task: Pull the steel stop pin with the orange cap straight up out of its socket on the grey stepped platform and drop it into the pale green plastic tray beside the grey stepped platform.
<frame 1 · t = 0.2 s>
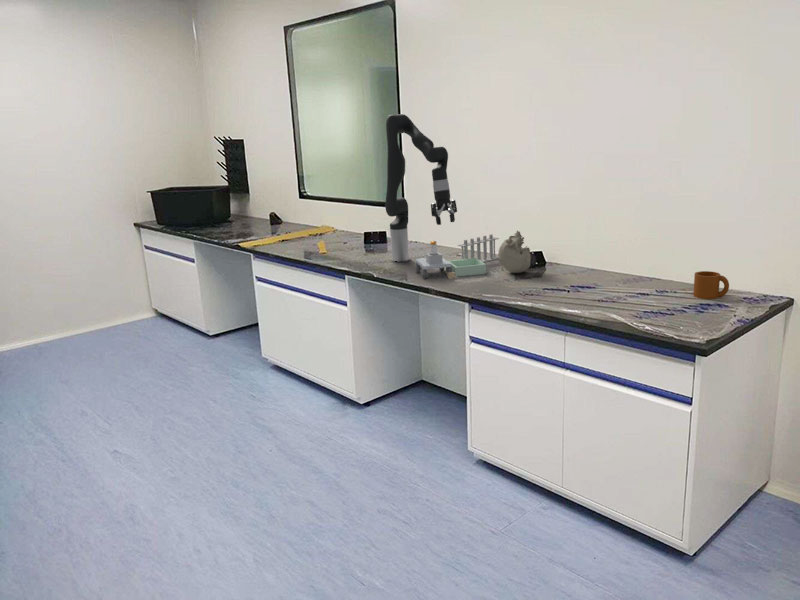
hand: (445, 223, 300), 23 cm above the worktop, tool pointing down, fingers open, 8 cm apart
grey stepped platform: (433, 274, 300), on the worktop
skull: (514, 273, 294), on the worktop
stop pin: (434, 262, 296), point 6 cm above the worktop, touching grey stepped platform
tray: (466, 271, 302), on the worktop
test tube rack: (479, 263, 319), on the worktop
mug: (709, 297, 241), on the worktop
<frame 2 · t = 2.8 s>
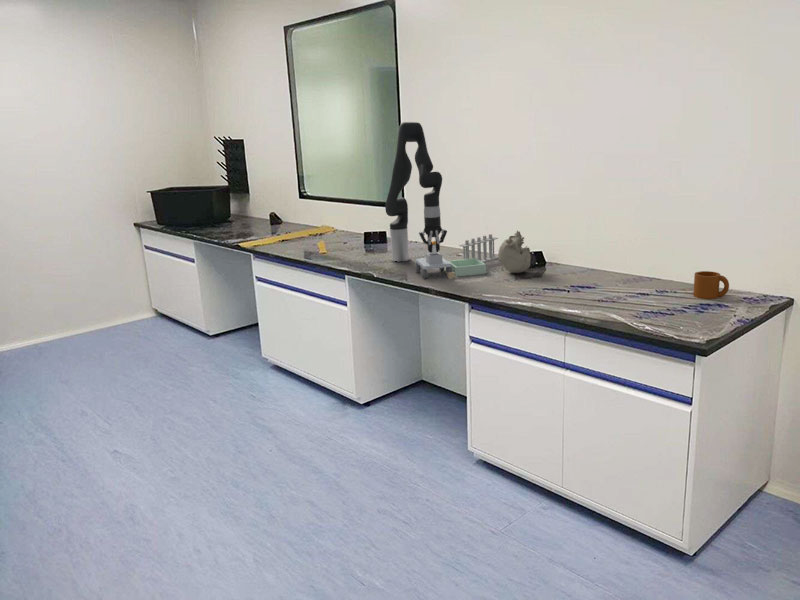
hand: (433, 251, 294), 12 cm above the worktop, tool pointing down, fingers closed on stop pin, 2 cm apart
stop pin: (434, 262, 296), point 7 cm above the worktop, touching gripper, grey stepped platform
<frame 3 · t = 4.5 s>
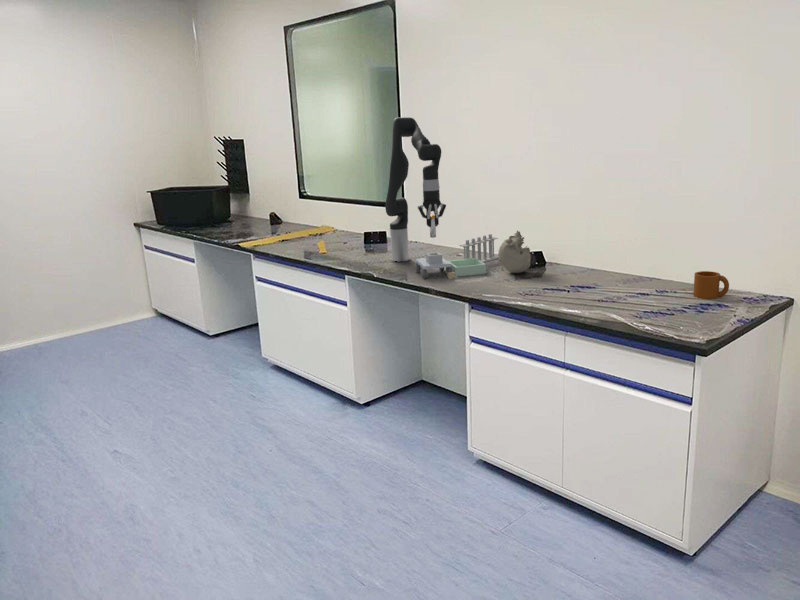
hand: (432, 226, 291), 24 cm above the worktop, tool pointing down, fingers closed on stop pin, 2 cm apart
stop pin: (433, 237, 292), point 19 cm above the worktop, touching gripper
everything else where it was.
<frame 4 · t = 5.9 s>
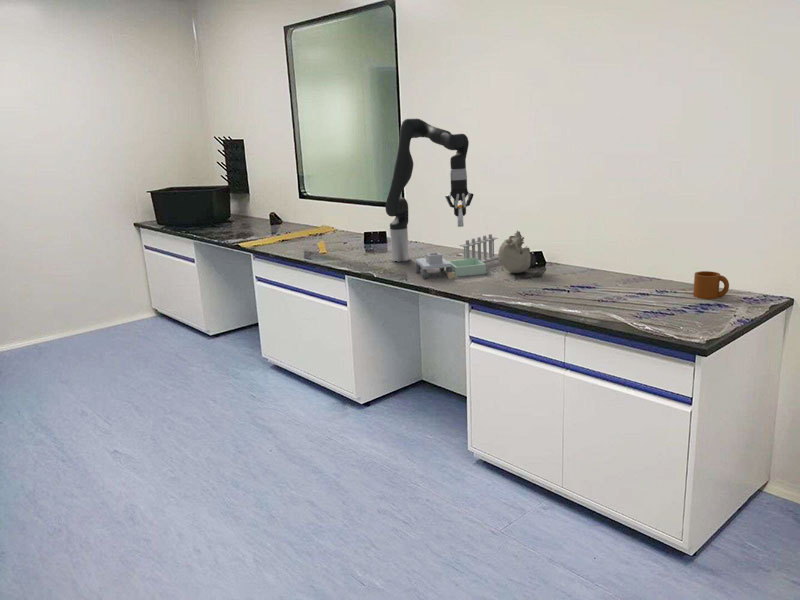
hand: (460, 215, 293), 28 cm above the worktop, tool pointing down, fingers closed on stop pin, 2 cm apart
stop pin: (460, 226, 294), point 22 cm above the worktop, touching gripper
everything else where it was.
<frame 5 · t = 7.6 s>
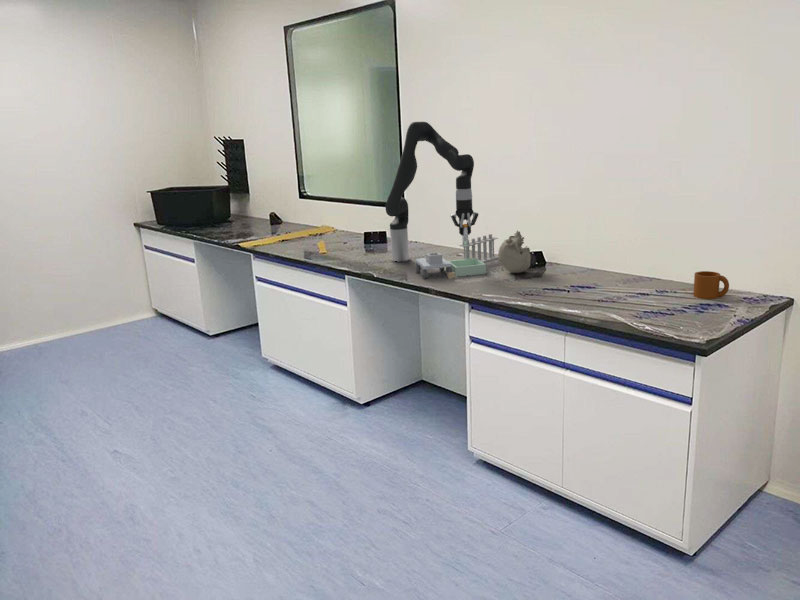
hand: (465, 234, 297), 18 cm above the worktop, tool pointing down, fingers closed on stop pin, 2 cm apart
stop pin: (465, 245, 298), point 13 cm above the worktop, touching gripper
everything else where it was.
when the fingers open (10 cm above the worktop, at t = 9.1 s): stop pin drops 4 cm, resting on tray.
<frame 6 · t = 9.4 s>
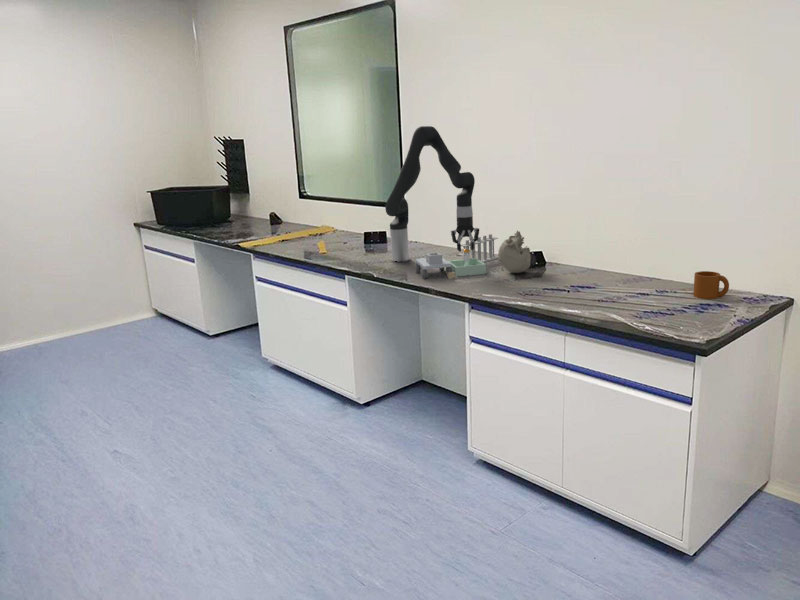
hand: (465, 250, 299), 10 cm above the worktop, tool pointing down, fingers open, 5 cm apart
stop pin: (466, 269, 301), point 1 cm above the worktop, touching tray
everything else where it was.
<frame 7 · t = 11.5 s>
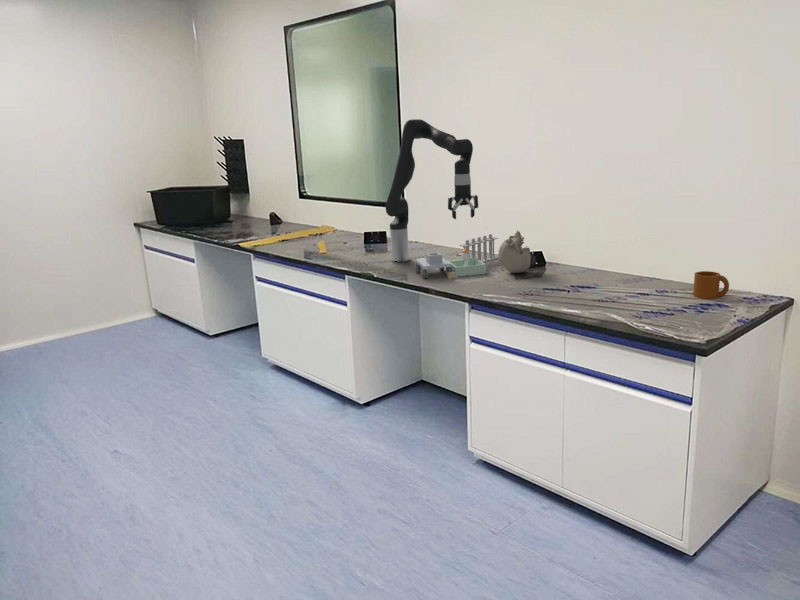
hand: (463, 218, 295), 26 cm above the worktop, tool pointing down, fingers open, 8 cm apart
nothing on the worktop moved.
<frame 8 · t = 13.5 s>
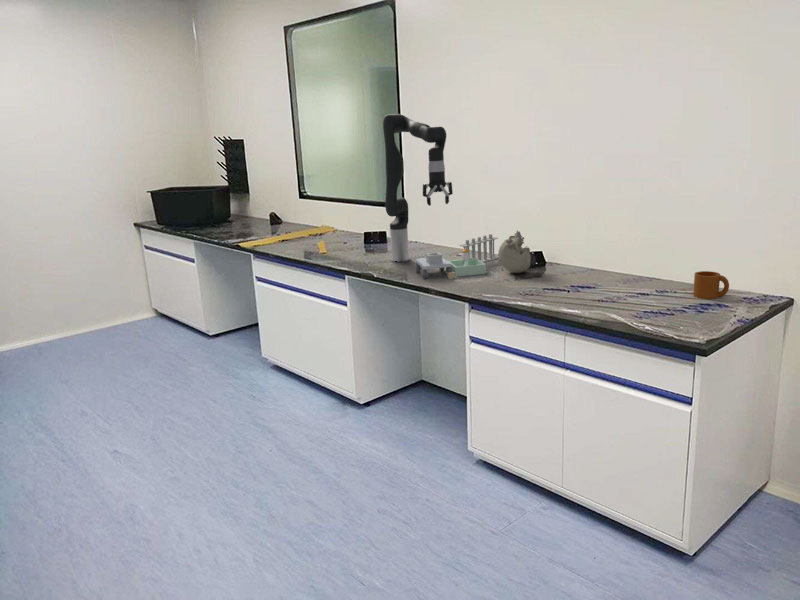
hand: (438, 204, 300), 32 cm above the worktop, tool pointing down, fingers open, 8 cm apart
nothing on the worktop moved.
at the end: stop pin inside the target area on the tray (0.1 cm from its centre), point 0.8 cm above the tray's base; stop pin moved 17.0 cm from its start; the gripper is holding nothing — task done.
